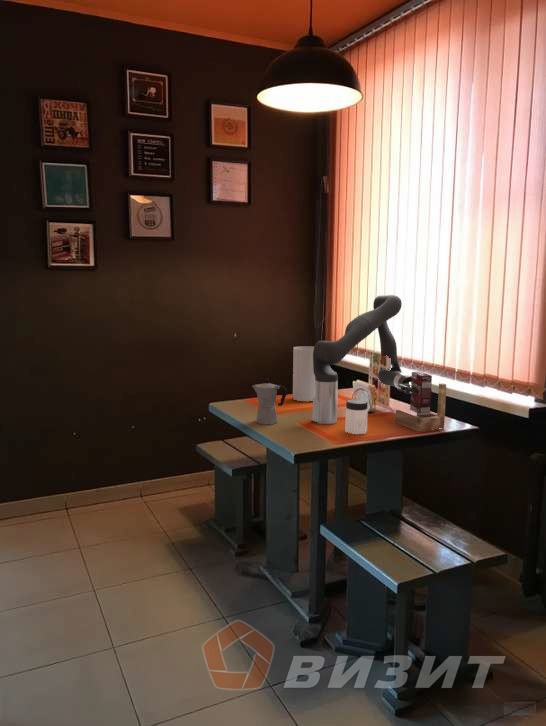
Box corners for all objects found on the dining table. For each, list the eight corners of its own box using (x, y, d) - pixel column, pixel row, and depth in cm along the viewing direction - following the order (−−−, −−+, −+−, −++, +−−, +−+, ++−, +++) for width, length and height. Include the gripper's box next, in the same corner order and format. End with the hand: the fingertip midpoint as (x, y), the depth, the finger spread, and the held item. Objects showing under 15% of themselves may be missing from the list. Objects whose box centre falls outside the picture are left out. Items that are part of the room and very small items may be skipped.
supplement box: (409, 409, 246) (411, 371, 243) (420, 409, 247) (421, 371, 244) (419, 415, 237) (421, 375, 235) (430, 414, 239) (432, 375, 236)
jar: (348, 435, 228) (349, 404, 226) (341, 429, 236) (342, 399, 234) (371, 433, 230) (372, 403, 228) (363, 428, 238) (364, 398, 236)
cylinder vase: (290, 397, 293) (290, 346, 289) (315, 396, 295) (316, 346, 291) (295, 403, 281) (296, 350, 277) (321, 402, 283) (323, 349, 279)
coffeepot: (247, 422, 245) (247, 379, 242) (256, 417, 253) (257, 375, 250) (282, 427, 239) (282, 382, 236) (291, 421, 247) (291, 378, 244)
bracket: (418, 431, 233) (420, 386, 230) (395, 422, 248) (397, 379, 245) (443, 429, 238) (446, 384, 235) (419, 419, 252) (421, 377, 249)
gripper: (390, 375, 252) (407, 383, 236) (421, 373, 255) (441, 381, 239) (389, 392, 253) (406, 401, 237) (421, 390, 256) (440, 400, 240)
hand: (423, 391), depth 238 cm, fingers closed on supplement box, 5 cm apart
